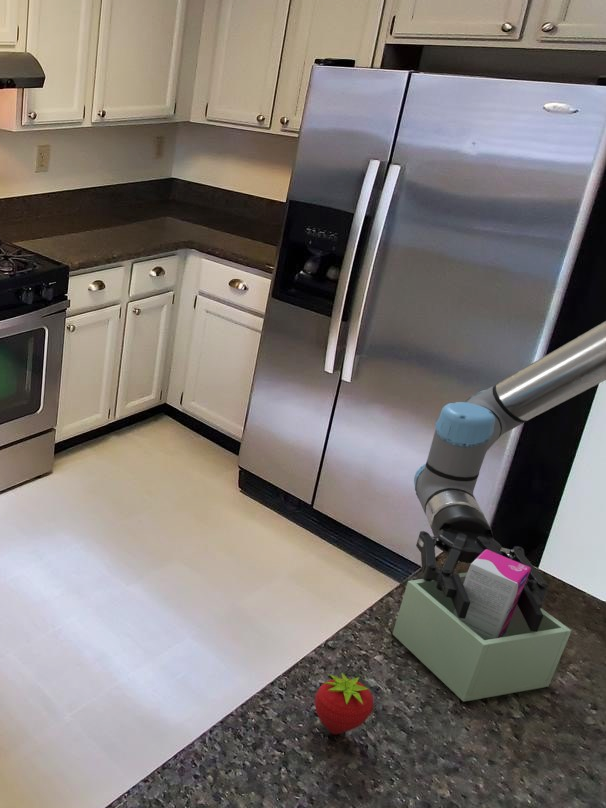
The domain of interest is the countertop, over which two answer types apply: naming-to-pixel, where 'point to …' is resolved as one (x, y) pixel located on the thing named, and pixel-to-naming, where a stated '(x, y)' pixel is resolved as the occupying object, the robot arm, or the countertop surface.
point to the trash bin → (477, 646)
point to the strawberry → (343, 704)
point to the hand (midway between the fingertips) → (500, 616)
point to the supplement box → (493, 593)
